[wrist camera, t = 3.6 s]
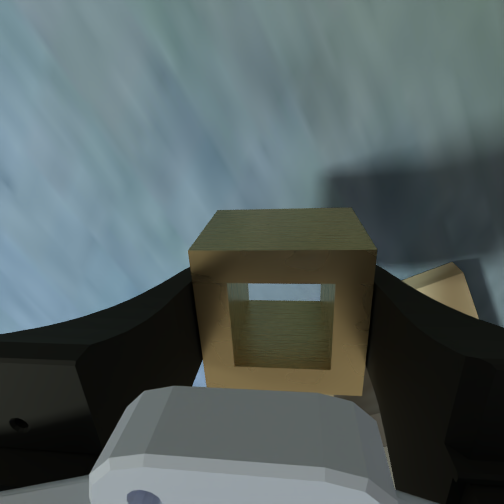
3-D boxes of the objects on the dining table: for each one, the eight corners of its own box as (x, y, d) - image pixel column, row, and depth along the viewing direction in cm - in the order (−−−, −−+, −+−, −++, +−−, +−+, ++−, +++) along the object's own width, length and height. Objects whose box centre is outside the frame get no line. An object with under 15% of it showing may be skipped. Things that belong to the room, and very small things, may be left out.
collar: (351, 207, 12) (377, 249, 8) (343, 321, 14) (361, 396, 10) (217, 210, 13) (187, 250, 9) (227, 319, 15) (206, 388, 11)
